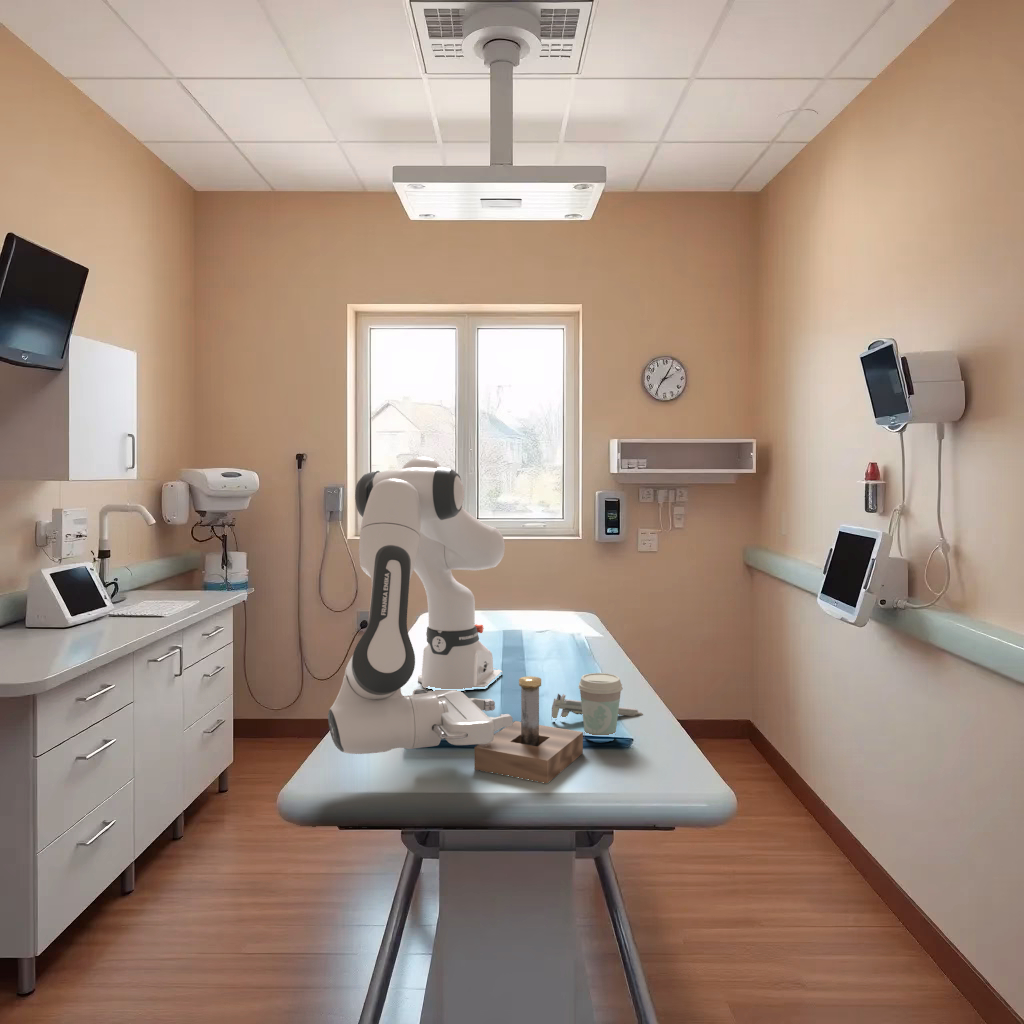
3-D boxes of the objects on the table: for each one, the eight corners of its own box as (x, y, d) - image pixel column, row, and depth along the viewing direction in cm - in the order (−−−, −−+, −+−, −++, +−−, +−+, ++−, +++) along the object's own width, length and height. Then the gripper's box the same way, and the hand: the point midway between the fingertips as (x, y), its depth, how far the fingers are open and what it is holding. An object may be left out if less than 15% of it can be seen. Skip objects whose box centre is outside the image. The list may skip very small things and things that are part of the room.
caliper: (553, 725, 168) (553, 695, 168) (551, 723, 169) (551, 693, 169) (643, 716, 174) (643, 687, 174) (640, 714, 175) (641, 685, 175)
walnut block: (515, 741, 158) (515, 721, 157) (582, 753, 151) (582, 732, 151) (474, 769, 143) (474, 747, 143) (547, 783, 137) (547, 760, 137)
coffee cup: (569, 738, 159) (569, 677, 159) (596, 728, 165) (597, 669, 165) (603, 749, 153) (604, 686, 153) (630, 738, 159) (631, 677, 159)
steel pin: (519, 756, 150) (519, 676, 149) (541, 757, 149) (541, 676, 148) (518, 764, 146) (518, 682, 145) (540, 765, 145) (540, 682, 144)
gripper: (441, 720, 130) (522, 711, 135) (412, 686, 149) (484, 680, 154) (441, 759, 131) (522, 748, 135) (412, 720, 150) (484, 712, 154)
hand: (502, 711), depth 145 cm, fingers open, 8 cm apart
